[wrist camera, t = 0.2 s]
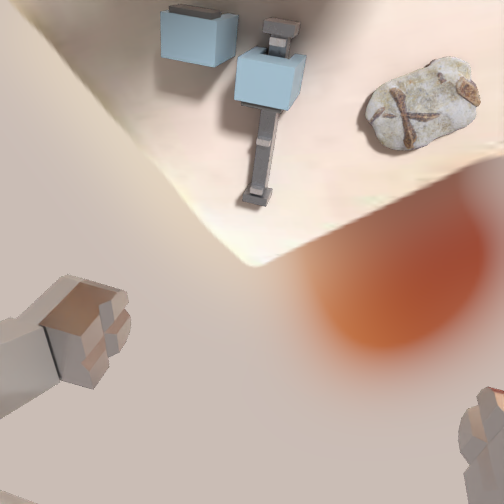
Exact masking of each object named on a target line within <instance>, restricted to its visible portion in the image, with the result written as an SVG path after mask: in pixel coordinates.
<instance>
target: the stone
mask: <svg viewBox="0 0 504 504" xmlns="http://www.w3.org/2000/svg"><path fill="white" fill-rule="evenodd" d="M480 103H481V101H480V95H479V94H478V89H477V87H476V84H475V83H474V82H473V81H472V80H471V67H470V65H469V64H468V63H467V62H465V61H463V60H461V59H459V58H456V57H444V58H440V59H434V60H432V61H431V62H430V65H429V66H428V67H425V68H422V69H419V70H416V71H414V72H411V73H409V74H406V75H403V76H400V77H398V78H395V79H393V80H391V81H388V82H386V83H385V84H383V85H381V86H380V87H379V88H378V89H377V90H376V91H375V92H374V93H373V95H372V97H371V99H370V101H369V103H368V105H367V108H366V113H365V117H366V119H367V120H368V121H369V123H370V125H371V126H373V128H374V130H375V134H376V136H377V138H378V139H379V141H380V143H381V144H382V145H384V146H385V147H388V148H390V149H394V150H413V149H418V148H421V147H424V146H427V145H428V144H429V143H430V142H431V141H433V140H434V139H436V138H438V137H441V136H444V135H447V134H450V133H452V132H454V131H456V130H459V129H462V128H464V127H466V126H467V125H469V124H470V123H471V122H472V121H473V120H474V119H475V117H476V107H477V106H479V105H480Z"/></svg>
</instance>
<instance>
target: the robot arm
mask: <svg viewBox="0 0 504 504" xmlns="http://www.w3.org/2000/svg"><path fill="white" fill-rule="evenodd" d="M128 303H129V302H128V296H127V292H125V291H124V290H121V289H117V288H114V287H110V286H107V285H104V284H101V283H97V282H94V281H90V280H87V279H83V278H79V277H76V276H72V275H69V274H67V275H65V276H62V277H60V278H59V279H58V280H57V281H56V282H55V283H54V284H53V285H52V286H51V287H50V288H49V289H47V290H46V291H45V292H44V293H43V294H42V295H41V296H40V297H39V298H38V299H37V300H36V301H35V302H34V303H33V304H31V305H30V307H28V308H27V309H26V310H25V311H24V312H23V313H22V314H21V315H20V316H19V317H18V318H17V319H14V318H8V319H5V320H2V321H0V419H2V418H3V417H5V416H6V415H8V414H10V413H11V412H13V411H15V410H16V409H18V408H19V407H21V406H23V405H24V404H26V403H28V402H29V401H31V400H32V399H34V398H36V397H37V396H39V395H40V394H42V393H44V392H45V391H47V390H49V389H50V388H52V387H53V386H55V385H57V384H58V383H60V380H61V381H65V382H68V383H72V384H75V385H79V386H82V387H86V388H89V389H94V388H95V386H96V385H97V384H98V382H99V381H100V379H101V378H102V376H103V375H104V373H105V372H106V370H107V369H108V368H109V360H108V358H109V357H111V356H113V355H115V354H117V353H119V352H120V351H121V349H122V348H123V346H124V344H125V343H126V340H127V338H128V335H129V333H130V327H131V317H130V315H129V313H128V312H127V311H126V310H125V309H124V308H125V306H126V305H127V304H128ZM477 401H478V405H477V406H474V407H471V408H468V409H467V410H466V412H465V413H464V415H463V417H462V418H461V422H460V426H459V436H458V437H459V439H458V441H459V448H460V453H461V454H462V455H463V457H464V458H465V459H466V461H467V462H468V463H469V467H468V468H467V469H466V471H465V472H464V479H465V485H466V490H467V496H468V502H469V504H504V391H503V390H499V389H495V388H491V387H486V388H484V389H482V390H481V391H480V393H479V394H478V395H477ZM0 504H37V503H34V502H31V501H29V500H26V499H23V498H21V497H18V496H15V495H12V494H10V493H7V492H5V491H2V490H0Z"/></svg>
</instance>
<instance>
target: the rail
mask: <svg viewBox="0 0 504 504" xmlns="http://www.w3.org/2000/svg"><path fill="white" fill-rule="evenodd" d="M300 23H301V22H296V21H290V20H284V19H278V18H272V17H271V18H268V19H266V20H264V24H263V32H264V33H270V34H271V37H270V40H269V45H270V47H269V55H270V56H275V57H281V58H286V59H288V56H289V49H290V43H291V37H292V38H294V37H295V36H296V35H298V34H299V29H300ZM278 118H279V113H276V112H271V111H266V110H261V115H260V123H259V131H258V137H257V140H256V144H257V146H256V153H255V161H254V168H253V176H252V184H249V185H248V187H247V188H246V190H245V192H244V193H243V199H242V201H244V202H248V203H253V204H257V205H261V206H265V207H266V206H267V204H268V202H269V200H270V198H271V195H272V188H267V187H268V181H269V175H270V169H271V162H272V156H273V150H274V143H275V137H276V131H277V125H278Z"/></svg>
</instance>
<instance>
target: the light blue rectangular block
mask: <svg viewBox="0 0 504 504" xmlns="http://www.w3.org/2000/svg"><path fill="white" fill-rule="evenodd" d="M266 53H267V48H263V47H257V46H256V47H254V48H252V49H251V50H249V51H247V52H246V53H244V54H242V55H241V56H239V57H238V61H237V72H236V83H235V94H234V100H239V101H241V105H242V106H247V107H252V108H257V109H261V110H266V111H271V112H276V113H282V111H283V110H287V111H288V110H289V108H290V107H291V105H292V104H293V102H294V101H295V100H296V98H297V97H298V95H299V94H300V88H301V83H302V78H303V72H304V67H305V61H306V55H301V54H296V53H295V54H294V55H293V56H292V57H291V58H290V59H286V58H281V57H275V56H270V55H266Z"/></svg>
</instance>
